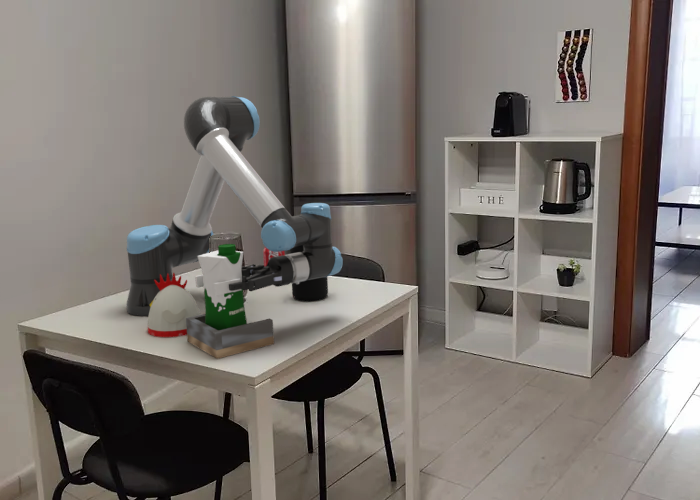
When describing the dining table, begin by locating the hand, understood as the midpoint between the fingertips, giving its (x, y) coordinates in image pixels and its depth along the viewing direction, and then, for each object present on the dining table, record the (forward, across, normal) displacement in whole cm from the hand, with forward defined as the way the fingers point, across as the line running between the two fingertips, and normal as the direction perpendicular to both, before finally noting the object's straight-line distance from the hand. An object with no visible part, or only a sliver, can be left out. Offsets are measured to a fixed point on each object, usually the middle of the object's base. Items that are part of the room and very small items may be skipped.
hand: (205, 285), depth 161 cm
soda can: (-46, +46, -15) cm, 67 cm away
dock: (-5, 0, -15) cm, 16 cm away
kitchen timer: (0, +20, -16) cm, 25 cm away
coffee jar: (-43, +21, -16) cm, 50 cm away
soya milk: (-4, 0, -11) cm, 12 cm away
